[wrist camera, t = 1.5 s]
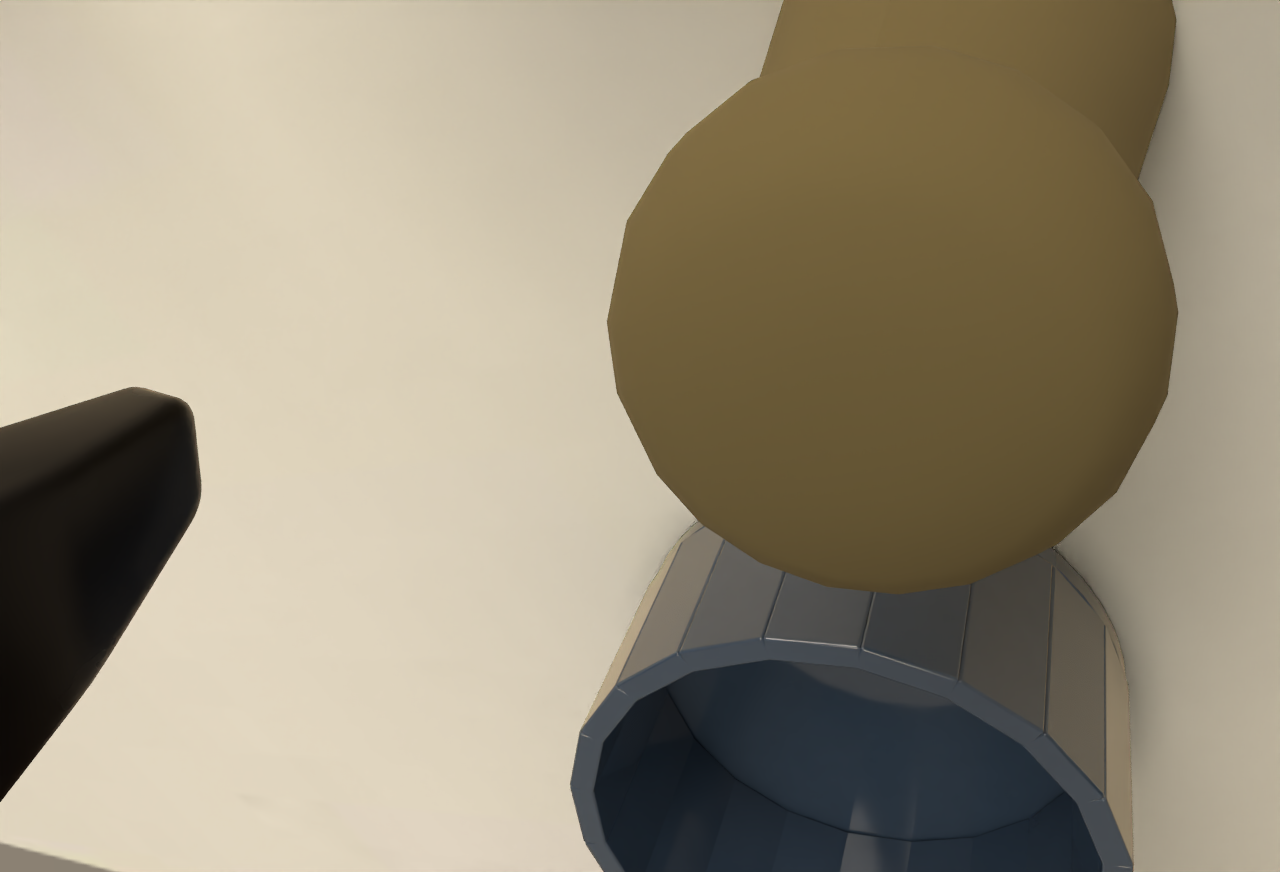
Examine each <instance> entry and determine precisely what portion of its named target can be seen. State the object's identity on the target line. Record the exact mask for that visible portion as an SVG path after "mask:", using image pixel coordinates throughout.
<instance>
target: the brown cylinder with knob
mask: <svg viewBox="0 0 1280 872" xmlns="http://www.w3.org/2000/svg"><path fill="white" fill-rule="evenodd" d="M1175 27H1176V17H1175V12H1174V8H1173V4H1172V0H784V1H783V4H782V7H781V11H780V14H779V17H778V20H777V24H776V27H775V30H774V33H773V36H772V40H771V43H770V46H769V49H768V52H767V56H766V59H765V62H764V65H763V68H762V72H761V75H760V78H757V79H754V80H752V81H750V82H749V83H747V84H746V85H745V86H744V87H742V88H741V89H740V90H739V91H738V92H736V93H735V94H734V95H733V96H731V97H730V98H729V99H728V100H726V101H725V102H724V103H723V104H722V105H720V106H719V107H718V108H717V109H715V110H714V111H713V112H712V113H710V114H709V115H708V116H707V117H706V118H704V119H703V120H702V121H701V122H699V123H698V124H697V125H696V126H694V127H693V128H692V129H691V130H690V131H688V132H687V133H686V134H685V135H684V136H683V137H682V139H681V140H680V141H679V142H678V143H677V144H676V145H675V146H674V147H673V149H672V150H671V151H670V152H669V153H668V154H667V156H666V158H665V159H664V161H663V163H662V164H661V166H660V168H659V169H658V171H657V172H656V174H655V176H654V177H653V179H652V181H651V182H650V184H649V186H648V187H647V189H646V191H645V192H644V194H643V196H642V197H641V199H640V201H639V202H638V204H637V205H636V207H635V209H634V210H633V212H632V214H631V215H630V217H629V219H628V220H627V223H626V228H625V233H624V238H623V243H622V248H621V253H620V258H619V263H618V268H617V273H616V278H615V284H614V289H613V294H612V299H611V304H610V309H609V314H608V319H607V326H608V333H609V340H610V347H611V354H612V361H613V368H614V375H615V382H616V389H617V394H618V396H619V398H620V400H621V402H622V404H623V406H624V408H625V410H626V412H627V414H628V416H629V418H630V420H631V422H632V424H633V426H634V429H635V431H636V433H637V435H638V437H639V439H640V441H641V443H642V445H643V447H644V449H645V451H646V453H647V455H648V457H649V459H650V461H651V463H652V465H653V467H654V470H655V472H656V474H657V475H658V476H659V477H660V478H661V479H662V481H663V482H664V483H665V484H666V485H667V486H668V487H669V488H670V489H671V491H672V492H673V493H674V494H675V495H676V496H677V497H678V498H679V499H680V501H681V502H682V503H683V504H684V505H685V506H686V507H687V508H688V509H689V511H690V512H691V513H692V514H693V515H694V516H695V517H696V518H697V519H698V521H699V522H700V523H701V524H702V525H704V526H705V527H707V528H708V529H710V530H711V531H713V532H714V533H716V534H717V535H719V536H720V537H722V538H723V539H725V540H726V541H728V542H729V543H731V544H732V545H734V546H735V547H737V548H738V549H740V550H741V551H743V552H744V553H746V554H747V555H749V556H750V557H752V558H753V559H755V560H757V561H758V562H760V563H762V564H765V565H767V566H770V567H773V568H776V569H779V570H781V571H784V572H787V573H790V574H793V575H795V576H798V577H801V578H804V579H807V580H809V581H812V582H815V583H818V584H820V585H823V586H826V587H833V588H843V589H852V590H862V591H871V592H880V593H890V594H905V593H912V592H919V591H926V590H933V589H940V588H947V587H954V586H961V585H968V584H971V583H974V582H976V581H978V580H980V579H983V578H985V577H987V576H989V575H992V574H994V573H996V572H998V571H1001V570H1003V569H1005V568H1008V567H1010V566H1012V565H1014V564H1017V563H1019V562H1021V561H1023V560H1026V559H1028V558H1030V557H1033V556H1035V555H1037V554H1039V553H1041V552H1043V551H1045V550H1047V549H1049V548H1051V547H1053V546H1055V545H1057V544H1058V543H1059V542H1061V541H1062V540H1063V539H1064V538H1065V537H1066V536H1067V535H1069V534H1070V533H1071V532H1072V531H1073V530H1074V529H1075V528H1077V527H1078V526H1079V525H1080V524H1081V523H1082V522H1083V521H1084V520H1086V519H1087V518H1088V517H1089V516H1090V515H1091V514H1092V513H1094V512H1095V511H1096V510H1097V509H1098V508H1099V507H1100V506H1102V505H1103V504H1104V503H1105V502H1106V501H1107V500H1108V499H1110V498H1111V497H1112V496H1113V495H1114V494H1115V493H1116V492H1117V490H1118V489H1119V487H1120V485H1121V483H1122V481H1123V479H1124V478H1125V476H1126V474H1127V472H1128V470H1129V469H1130V467H1131V465H1132V463H1133V461H1134V459H1135V458H1136V456H1137V454H1138V452H1139V450H1140V449H1141V447H1142V445H1143V443H1144V441H1145V440H1146V438H1147V436H1148V434H1149V432H1150V430H1151V429H1152V427H1153V425H1154V423H1155V421H1156V419H1157V417H1158V414H1159V412H1160V410H1161V408H1162V406H1163V404H1164V401H1165V399H1166V397H1167V394H1168V387H1169V379H1170V371H1171V364H1172V356H1173V348H1174V341H1175V333H1176V325H1177V318H1178V308H1177V302H1176V295H1175V289H1174V283H1173V279H1172V275H1171V271H1170V267H1169V263H1168V259H1167V255H1166V252H1165V248H1164V244H1163V240H1162V236H1161V232H1160V228H1159V224H1158V221H1157V217H1156V213H1155V209H1154V205H1153V201H1152V200H1151V198H1150V197H1149V195H1148V194H1147V193H1146V191H1145V190H1144V188H1143V187H1142V186H1141V184H1140V183H1139V181H1138V178H1139V175H1140V172H1141V169H1142V165H1143V162H1144V159H1145V156H1146V153H1147V150H1148V147H1149V144H1150V141H1151V138H1152V135H1153V132H1154V129H1155V126H1156V122H1157V119H1158V116H1159V113H1160V110H1161V107H1162V104H1163V101H1164V98H1165V95H1166V92H1167V89H1168V86H1169V79H1170V71H1171V62H1172V53H1173V44H1174V35H1175Z"/></svg>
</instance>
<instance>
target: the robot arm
mask: <svg viewBox="0 0 1280 872" xmlns="http://www.w3.org/2000/svg"><path fill="white" fill-rule="evenodd" d="M200 497H201V477H200V467H199V458H198V449H197V439H196V430H195V421H194V416H193V412H192V410H191V408H190V407H189V405H188V404H187V403H186V402H184V401H183V400H182V399H180V398H177V397H173V396H170V395H166V394H163V393H160V392H156V391H153V390H149V389H146V388H140V387H130V388H126V389H122V390H119V391H116V392H113V393H110V394H107V395H103V396H100V397H97V398H94V399H91V400H87V401H84V402H81V403H78V404H75V405H72V406H68V407H65V408H62V409H59V410H56V411H53V412H49V413H46V414H43V415H40V416H37V417H33V418H30V419H27V420H24V421H21V422H18V423H14V424H11V425H8V426H5V427H2V428H0V802H1V800H2V799H3V798H4V797H5V795H6V794H7V793H8V791H9V790H10V789H11V788H12V786H13V785H14V784H15V782H16V781H17V780H18V779H19V777H20V776H21V775H22V773H23V772H24V771H25V769H26V768H27V767H28V766H29V764H30V763H31V762H32V760H33V759H34V758H35V757H36V755H37V754H38V753H39V751H40V750H41V749H42V748H43V746H44V745H45V744H46V742H47V741H48V740H49V738H50V737H51V736H52V735H53V733H54V732H55V731H56V729H57V728H58V727H59V726H60V724H61V723H62V722H63V720H64V719H65V718H66V717H67V715H68V714H69V713H70V711H71V710H72V709H73V707H74V706H75V705H76V703H77V702H78V701H79V699H80V698H81V697H82V695H83V694H84V692H85V691H86V690H87V688H88V687H89V686H90V684H91V683H92V681H93V680H94V678H95V677H96V675H97V674H98V672H99V671H100V669H101V668H102V666H103V665H104V663H105V662H106V660H107V659H108V657H109V656H110V654H111V652H112V651H113V649H114V647H115V646H116V644H117V643H118V641H119V639H120V638H121V636H122V634H123V633H124V631H125V630H126V628H127V626H128V625H129V623H130V621H131V620H132V618H133V617H134V615H135V613H136V612H137V610H138V608H139V607H140V605H141V603H142V602H143V600H144V599H145V597H146V595H147V594H148V592H149V590H150V589H151V587H152V586H153V584H154V582H155V581H156V579H157V577H158V576H159V574H160V573H161V571H162V569H163V568H164V566H165V564H166V563H167V561H168V559H169V558H170V556H171V555H172V553H173V551H174V550H175V548H176V546H177V545H178V543H179V542H180V540H181V538H182V537H183V535H184V533H185V532H186V530H187V529H188V527H189V525H190V524H191V522H192V520H193V518H194V516H195V514H196V511H197V509H198V506H199V502H200Z"/></svg>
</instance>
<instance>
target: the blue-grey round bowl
mask: <svg viewBox="0 0 1280 872" xmlns="http://www.w3.org/2000/svg"><path fill="white" fill-rule="evenodd" d="M570 785H571V792H572V796H573V800H574V804H575V808H576V811H577V815H578V819H579V823H580V827H581V831H582V835H583V839H584V841H585V842H586V845H587V847H588V849H589V850H590V852H591V853H592V855H593V856H594V858H595V859H596V861H597V862H598V864H599V865H600V867H601V868H602V870H603V871H604V872H1133V871H1134V854H1133V817H1132V780H1131V743H1130V706H1129V688H1128V682H1127V680H1126V673H1125V666H1124V658H1123V654H1122V651H1121V648H1120V645H1119V641H1118V638H1117V635H1116V632H1115V630H1114V628H1113V626H1112V624H1111V622H1110V620H1109V618H1108V616H1107V614H1106V612H1105V610H1104V608H1103V606H1102V604H1101V603H1100V602H1099V600H1098V599H1097V598H1096V596H1095V595H1094V593H1093V592H1092V591H1091V589H1090V588H1089V586H1088V585H1087V584H1086V582H1085V581H1084V580H1083V578H1082V577H1081V576H1080V575H1079V574H1078V573H1077V572H1076V571H1075V570H1074V569H1073V568H1072V567H1071V566H1070V565H1069V564H1068V563H1067V562H1066V561H1065V559H1064V558H1063V557H1062V556H1061V555H1059V554H1058V553H1057V552H1056V551H1054V550H1053V549H1052V548H1049V549H1047V550H1045V551H1043V552H1041V553H1039V554H1037V555H1035V556H1033V557H1030V558H1028V559H1026V560H1023V561H1021V562H1019V563H1017V564H1014V565H1012V566H1010V567H1008V568H1005V569H1003V570H1001V571H998V572H996V573H994V574H992V575H989V576H987V577H985V578H983V579H980V580H978V581H976V582H974V583H971V584H968V585H961V586H954V587H947V588H940V589H933V590H926V591H919V592H912V593H905V594H890V593H880V592H871V591H862V590H852V589H843V588H833V587H826V586H823V585H820V584H818V583H815V582H812V581H809V580H807V579H804V578H801V577H798V576H795V575H793V574H790V573H787V572H784V571H781V570H779V569H776V568H773V567H770V566H767V565H765V564H762V563H760V562H758V561H757V560H755V559H753V558H752V557H750V556H749V555H747V554H746V553H744V552H743V551H741V550H740V549H738V548H737V547H735V546H734V545H732V544H731V543H729V542H728V541H726V540H725V539H723V538H722V537H720V536H719V535H717V534H716V533H714V532H713V531H711V530H710V529H708V528H707V527H705V526H704V525H702V524H701V523H700V522H699V521H698V522H697V523H695V524H694V525H693V526H692V527H691V528H690V529H689V530H688V531H687V532H686V533H685V534H684V535H683V536H682V537H681V538H680V539H679V540H678V542H677V543H676V544H675V546H674V547H673V548H672V550H671V551H670V552H669V554H668V555H667V557H666V559H665V561H664V562H663V564H662V566H661V568H660V570H659V572H658V574H657V575H656V577H655V578H654V579H653V581H652V582H651V583H650V585H649V587H648V589H647V591H646V593H645V595H644V597H643V599H642V601H641V603H640V606H639V608H638V610H637V612H636V614H635V616H634V618H633V620H632V622H631V625H630V627H629V629H628V631H627V633H626V635H625V637H624V639H623V641H622V643H621V646H620V648H619V650H618V652H617V654H616V656H615V658H614V660H613V662H612V665H611V667H610V669H609V671H608V673H607V675H606V677H605V679H604V681H603V683H602V686H601V688H600V690H599V692H598V694H597V696H596V698H595V700H594V702H593V705H592V707H591V709H590V711H589V713H588V715H587V717H586V719H585V721H584V724H583V726H582V728H581V730H580V732H579V737H578V743H577V748H576V754H575V759H574V765H573V770H572V776H571V781H570Z"/></svg>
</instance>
